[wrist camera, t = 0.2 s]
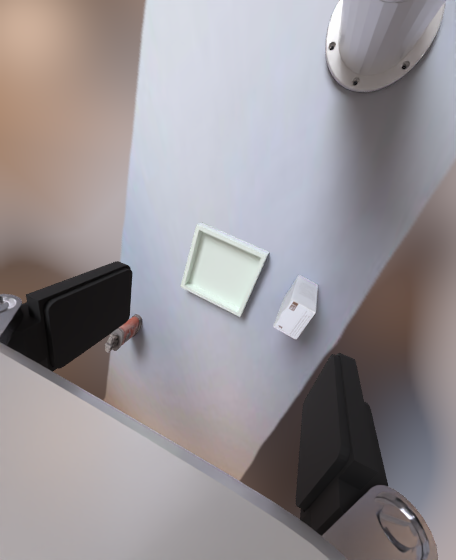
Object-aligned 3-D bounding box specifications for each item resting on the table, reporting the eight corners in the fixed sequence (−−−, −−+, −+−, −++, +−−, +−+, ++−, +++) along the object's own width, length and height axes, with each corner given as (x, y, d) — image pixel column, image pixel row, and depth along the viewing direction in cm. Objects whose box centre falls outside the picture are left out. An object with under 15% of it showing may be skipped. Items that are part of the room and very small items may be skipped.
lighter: (136, 337, 69) (109, 359, 60) (127, 330, 69) (99, 351, 60) (144, 318, 65) (116, 339, 56) (134, 311, 65) (105, 331, 56)
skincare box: (302, 307, 47) (297, 343, 37) (282, 296, 48) (271, 328, 37) (319, 283, 44) (318, 314, 34) (297, 271, 45) (290, 299, 34)
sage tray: (202, 222, 48) (196, 224, 46) (269, 252, 46) (266, 255, 43) (185, 282, 55) (180, 286, 53) (243, 311, 53) (239, 317, 50)
